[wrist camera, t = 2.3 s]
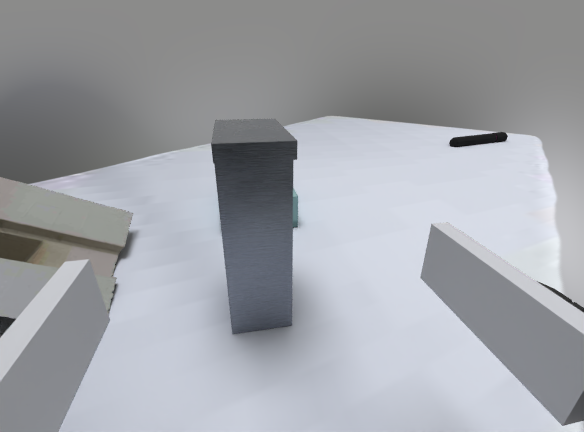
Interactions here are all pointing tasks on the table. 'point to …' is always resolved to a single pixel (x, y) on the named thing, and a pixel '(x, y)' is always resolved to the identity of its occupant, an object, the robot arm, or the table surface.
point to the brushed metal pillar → (256, 219)
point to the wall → (53, 241)
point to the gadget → (478, 139)
